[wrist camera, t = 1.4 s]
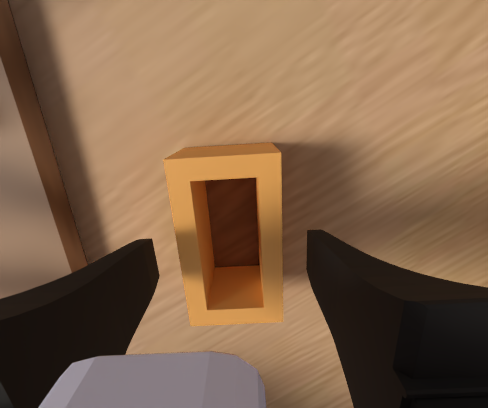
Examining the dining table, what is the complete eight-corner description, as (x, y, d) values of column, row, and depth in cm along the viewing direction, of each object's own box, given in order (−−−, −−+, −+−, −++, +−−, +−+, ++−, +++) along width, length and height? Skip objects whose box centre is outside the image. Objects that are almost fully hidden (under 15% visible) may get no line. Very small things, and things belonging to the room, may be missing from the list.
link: (274, 277, 18) (283, 321, 14) (201, 280, 18) (190, 326, 14) (271, 142, 15) (281, 152, 11) (183, 147, 15) (163, 159, 11)
